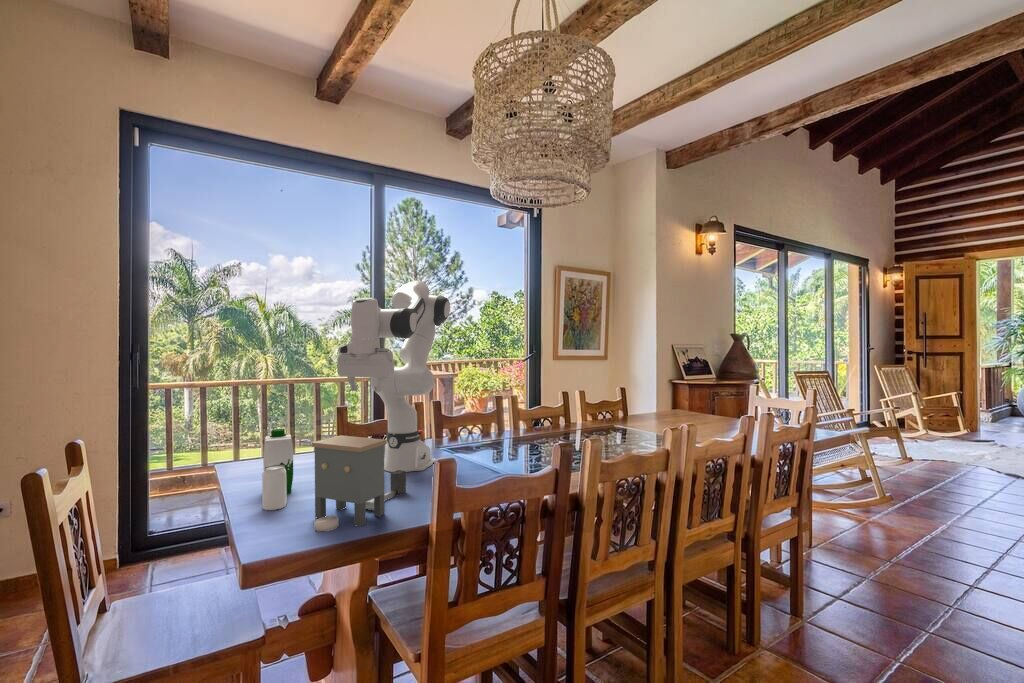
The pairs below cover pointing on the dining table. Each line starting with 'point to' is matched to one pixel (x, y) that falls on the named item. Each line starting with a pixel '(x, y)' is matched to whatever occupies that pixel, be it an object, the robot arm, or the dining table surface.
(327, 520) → the coaster
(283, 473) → the can
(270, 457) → the milk carton
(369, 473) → the cabinet
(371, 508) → the block
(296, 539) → the dining table surface
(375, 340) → the robot arm
